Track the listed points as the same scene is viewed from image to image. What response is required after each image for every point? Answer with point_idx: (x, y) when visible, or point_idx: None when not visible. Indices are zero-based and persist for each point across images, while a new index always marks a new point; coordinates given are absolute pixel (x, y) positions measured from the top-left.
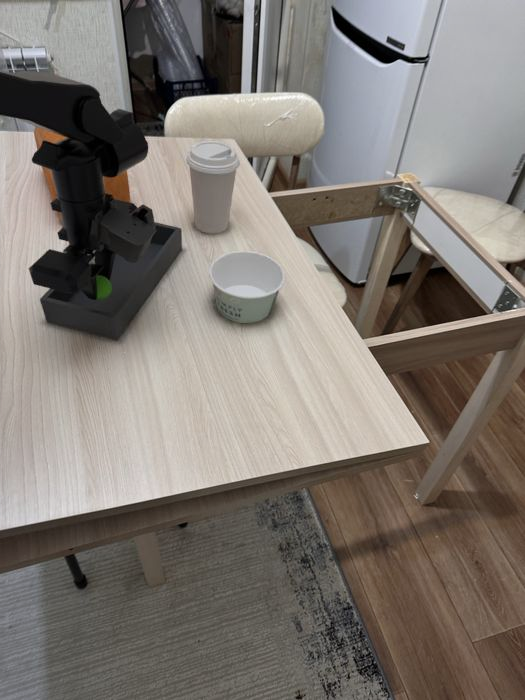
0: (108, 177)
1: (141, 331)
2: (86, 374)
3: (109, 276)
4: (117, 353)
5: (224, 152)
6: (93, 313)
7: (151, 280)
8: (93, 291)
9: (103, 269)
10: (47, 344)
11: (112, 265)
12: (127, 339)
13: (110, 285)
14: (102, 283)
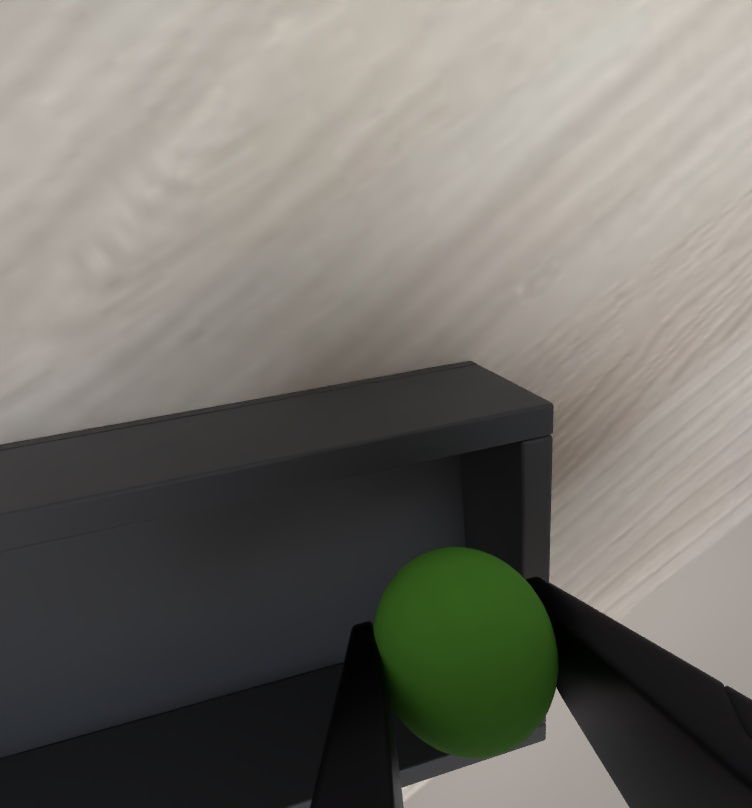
0: None
1: (369, 302)
2: (661, 353)
3: (368, 682)
4: (534, 316)
5: None
6: (549, 519)
7: (6, 472)
8: (647, 640)
9: (396, 787)
10: (571, 551)
11: (329, 798)
12: (444, 329)
13: (442, 604)
14: (520, 661)
